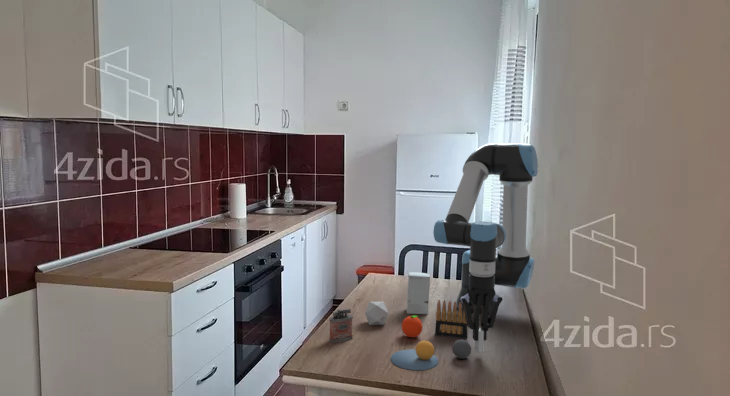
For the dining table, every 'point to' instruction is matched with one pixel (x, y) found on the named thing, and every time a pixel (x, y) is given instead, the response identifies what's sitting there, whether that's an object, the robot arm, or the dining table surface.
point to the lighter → (341, 326)
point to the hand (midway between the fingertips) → (478, 350)
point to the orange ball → (424, 350)
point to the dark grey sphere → (461, 349)
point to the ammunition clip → (450, 321)
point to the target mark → (412, 360)
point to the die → (376, 313)
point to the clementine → (412, 326)
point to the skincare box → (418, 293)
